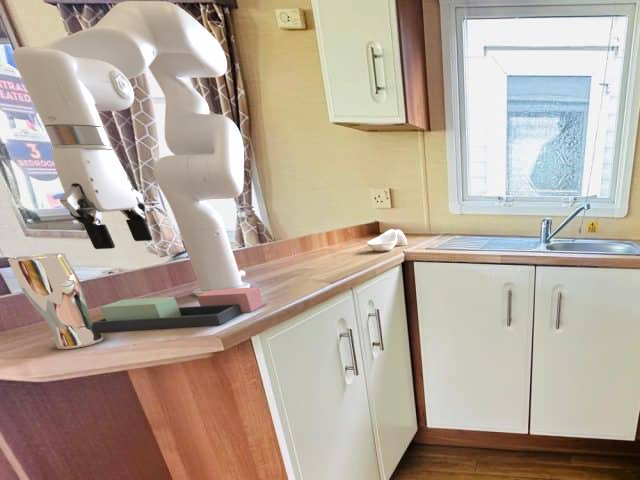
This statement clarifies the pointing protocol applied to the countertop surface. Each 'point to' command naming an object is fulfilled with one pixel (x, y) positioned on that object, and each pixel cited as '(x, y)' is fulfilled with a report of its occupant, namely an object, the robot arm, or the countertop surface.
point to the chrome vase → (56, 298)
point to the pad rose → (233, 298)
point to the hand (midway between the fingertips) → (125, 244)
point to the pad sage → (141, 309)
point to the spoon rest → (387, 240)
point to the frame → (175, 319)
